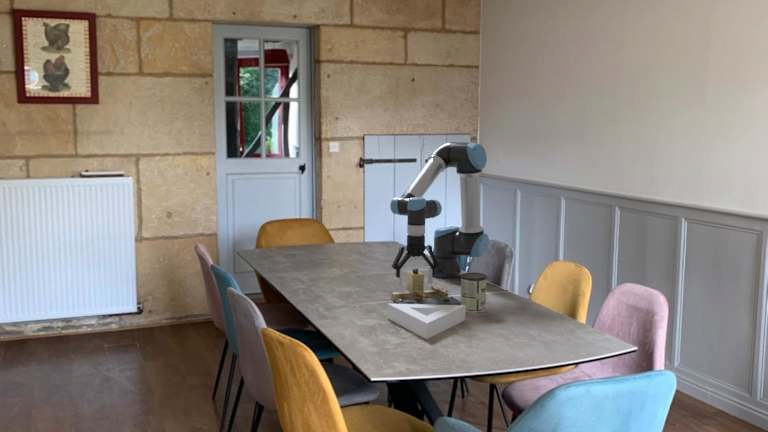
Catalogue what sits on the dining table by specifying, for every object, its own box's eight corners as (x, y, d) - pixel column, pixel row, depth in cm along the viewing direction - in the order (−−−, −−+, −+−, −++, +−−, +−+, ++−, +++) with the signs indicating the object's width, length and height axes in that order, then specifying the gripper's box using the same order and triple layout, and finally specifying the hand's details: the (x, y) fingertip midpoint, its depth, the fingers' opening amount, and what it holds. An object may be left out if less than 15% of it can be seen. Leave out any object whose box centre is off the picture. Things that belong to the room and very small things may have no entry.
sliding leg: (417, 292, 335) (418, 267, 334) (430, 301, 321) (430, 274, 319) (406, 293, 334) (407, 267, 332) (418, 301, 319) (419, 275, 318)
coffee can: (463, 305, 322) (464, 271, 320) (488, 307, 319) (489, 273, 317) (457, 311, 313) (458, 276, 311) (482, 313, 309) (483, 278, 307)
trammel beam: (443, 295, 338) (443, 285, 338) (456, 303, 325) (456, 293, 324) (390, 298, 331) (390, 288, 331) (401, 307, 318) (401, 296, 317)
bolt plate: (452, 300, 330) (452, 295, 330) (461, 306, 321) (461, 301, 320) (395, 304, 323) (395, 299, 322) (403, 310, 313) (403, 305, 313)
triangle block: (426, 340, 276) (426, 323, 275) (365, 328, 289) (365, 312, 289) (465, 321, 301) (465, 305, 300) (407, 311, 314) (407, 295, 314)
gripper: (440, 232, 335) (439, 280, 338) (384, 234, 327) (384, 283, 330) (447, 234, 328) (445, 284, 331) (390, 237, 320) (389, 287, 323)
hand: (415, 284), depth 330 cm, fingers open, 13 cm apart
